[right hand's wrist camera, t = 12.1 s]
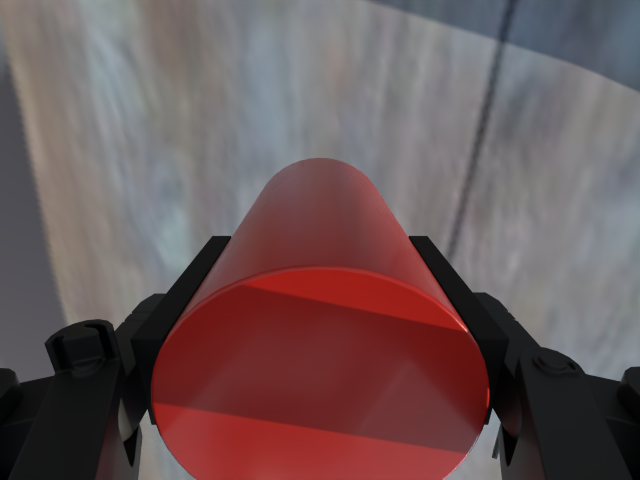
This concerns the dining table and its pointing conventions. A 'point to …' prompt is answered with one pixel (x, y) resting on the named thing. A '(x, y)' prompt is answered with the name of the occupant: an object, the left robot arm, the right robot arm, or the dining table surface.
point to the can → (319, 347)
